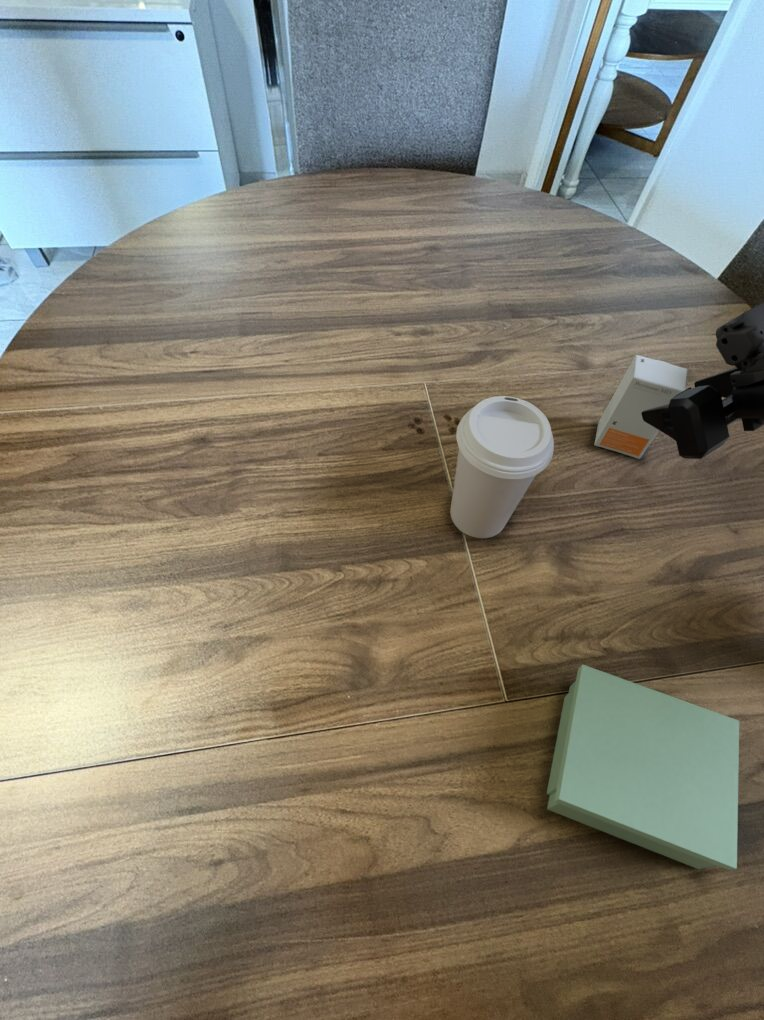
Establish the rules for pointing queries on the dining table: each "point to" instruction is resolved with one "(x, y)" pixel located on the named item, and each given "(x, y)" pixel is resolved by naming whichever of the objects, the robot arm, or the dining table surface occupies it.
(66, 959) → the dining table surface
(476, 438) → the coffee cup
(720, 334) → the robot arm
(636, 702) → the stand
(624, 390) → the cosmetic box
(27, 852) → the dining table surface
